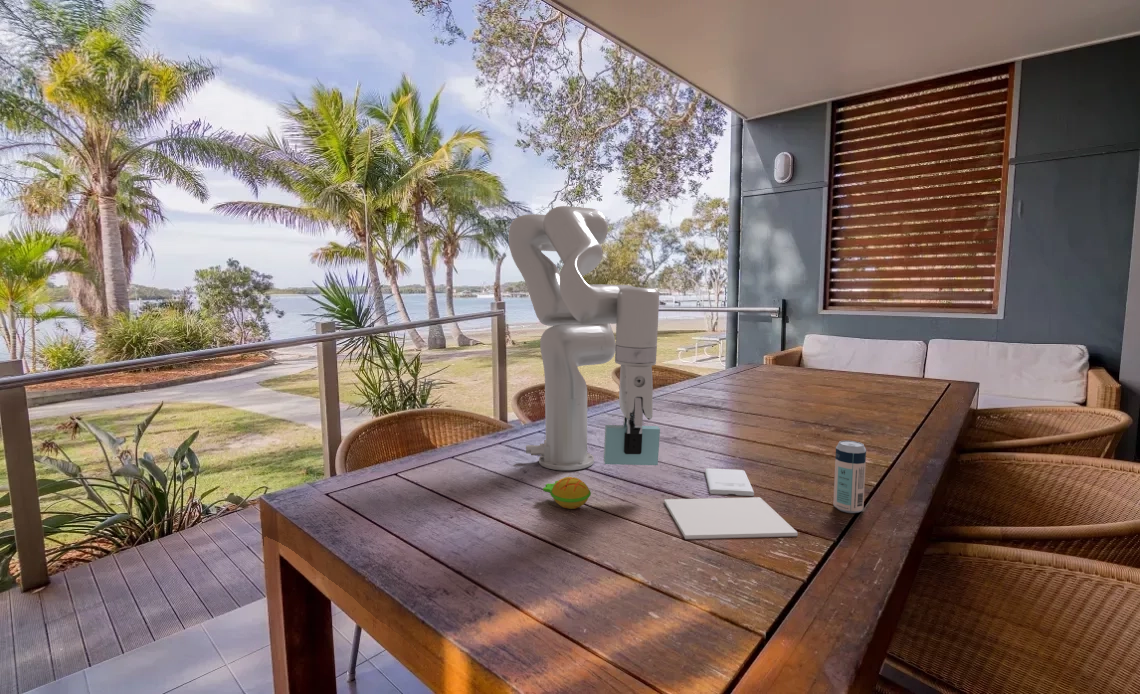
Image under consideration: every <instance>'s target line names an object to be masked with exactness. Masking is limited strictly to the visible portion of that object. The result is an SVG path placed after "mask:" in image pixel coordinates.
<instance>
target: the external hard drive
mask: <svg viewBox="0 0 1140 694" xmlns="http://www.w3.org/2000/svg"><path fill="white" fill-rule="evenodd" d="M704 473H705V477H706V483H707V486H708V492H709V494H711V495H725V496H727V495H730V496H731V495H733V496H742V497H743V496H745V497H746V496H747V497H755V492H754V489H753V487H752V484H751V482H750V480H749V478H748V476H747V473H746V471H745V470H744V469H734V468H733V469H732V468H731V469H730V468H729V469H728V468H712V467H711V468H710V467H709V468H708V467H707V468H705V472H704Z"/></svg>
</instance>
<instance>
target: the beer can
mask: <svg viewBox="0 0 1140 694" xmlns="http://www.w3.org/2000/svg"><path fill="white" fill-rule="evenodd" d="M866 457H867V449H866V447H865V444H864V443H862V442H859V441H854V440H840V441H839V442H838V443H837V445H836V446H835V459H834V460H835V461H834V462H835V463H834V482H833V485H834V486H833V502H832V503H833V504H832V505H833V507H835V508H836V509H837V510H839V511H840V512H843V513H847V514H858V513H861V512H863V510H864V504H865V503H864V501H865V483H866V463H867V462H866V461H867V458H866Z"/></svg>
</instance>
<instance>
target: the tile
mask: <svg viewBox="0 0 1140 694" xmlns="http://www.w3.org/2000/svg"><path fill="white" fill-rule="evenodd" d="M604 426H605V427H604V441H603V442H604V443H603V444H604V446H603V463H604V465H622V466H623V465H625V466H628V465H629V466H630V465H631V466H635V465H636V466H658V465H659V451H660V450H659V449H660V438H661V428H660V426H658V425H642V450H641V454H625V453H624V438H625V433H626V428H627V425H623V424H619V425H618V424H605V425H604Z"/></svg>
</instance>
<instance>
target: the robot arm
mask: <svg viewBox="0 0 1140 694" xmlns="http://www.w3.org/2000/svg"><path fill="white" fill-rule="evenodd" d="M608 230H609V229H608V222H607V220H606V217H605V216H604V214H603V213H602V212H601V211H599V210H598V209H596V208H590V207H579V206H569V205H560V206H556V207H553V208H552V209H550V210H549V211H547V213H546V214H538V213H536V214H534V213H533V214H531V213H530V214H523V215H519V216H517V217H516V218H514V220H512V221H511V224H510V225H509V229H508V246H509V250H510V255H511V258H512V259H513V262H514V264H515V266H516V268H517V269H518V271H519V272H520V274H521V276H522V278H523V281H524V283H525V286H526V288H527V292H528V294H529V298H530V301H531V304H532V307H533V309H534V313H535V316H536V317H537V319H538V321H539V322H540V323H541V324H542V325H545V326H549V327H548V328H546V329H545V330H544V331H543V333H542V334H541V337H540V342H539V344H540V345H539V347H540V355H541V359H542V365H543V371H544V372H543V373H544V374H543V375H544V399H545V400H544V402H545V403H544V407H545V408H544V410H545V411H544V413H545V414H544V415H545V423H544V424H545V440H544V441H543V442H544V443H539V445H538V444H537V445H536V444H535V445H534V444H526V445H525V453H526V455H527V454H530V456H539V457H538V463H539V465H540V466H542V467H544V468H546V469H549V470H555V471H578V470H583V469H587V468H590V467H591V466H592V465H593V464H594V463H595V457H594V455H593V454H591V453H590V452H588V387H587V386H588V385H587V382H586V380H585V378H584V376H583V375H582V373H581V372H580V370H579V367H582V366H592V365H593V366H595V365H602V364H607V363H608V362H610V361H611V360H612V359H613V358H614V361H615V362H614V363H615V364H618V365H620V369H619V388H618V389H619V391H618V394H619V395H618V396H619V397H618V398H619V399H618V401H619V408H620V410H621V413H622V415H623V424H622V425H627V428H626V433H625V438H624V453H625V454H641V450H642V426H643V420H644V417H645V418H646V419H647V420H648V421H649V420H651V419H653V414H654V413H653V402H654V401H653V399H654V396H653V394H654V393H653V392H654V390H653V389H654V388H653V385H654V383H653V368H652V367H653V366H655V365H656V364H657V350H658V349H657V347H658V331H659V328H658V327H659V312H660V311H659V310H660V308H659V307H660V295H659V292H658V290H656V289H654V288H650V287H639V286H638V287H637V286H634V285H633V286H632V285H629V284H605V283H604V284H598V283H596V284H593V283H592V284H588V283H587V282H586V280H585V279H584V278H583V277H584V276H586V275H588V274H590V273H591V272H593V271H594V270H596V268H597V267H598V266H599V264H600V263H601V261H602V258H603V256H604V255H603V249H602V248H603V247H602V246H601V245H602V244H603V243H604V242H605V240H606V238H607V236H608ZM543 252H556V253H557V254H558V257H559V258H560V259H561V261H562V263H563V265H562V267H561V271H560V270H559V268H558V267H557V265H556V264H555V263H554V262H553V261H552V260H551V258H549V257H548V256H546V254H544V253H543ZM613 324H616V325H615V335H614V331H613V329H612V326H611V325H613Z"/></svg>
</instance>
